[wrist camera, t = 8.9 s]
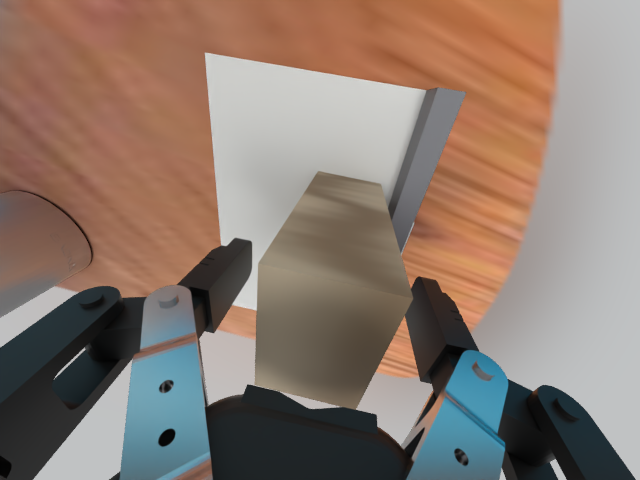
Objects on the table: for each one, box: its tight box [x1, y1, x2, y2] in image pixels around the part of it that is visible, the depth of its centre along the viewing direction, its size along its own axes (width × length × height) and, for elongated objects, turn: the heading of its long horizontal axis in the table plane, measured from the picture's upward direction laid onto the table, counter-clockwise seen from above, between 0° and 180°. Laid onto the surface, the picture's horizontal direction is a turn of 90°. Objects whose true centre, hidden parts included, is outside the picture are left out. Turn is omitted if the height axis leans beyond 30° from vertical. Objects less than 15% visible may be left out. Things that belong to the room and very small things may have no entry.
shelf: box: [205, 53, 466, 310], centre depth 17 cm, size 13×19×4 cm
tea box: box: [255, 171, 413, 410], centre depth 12 cm, size 4×6×10 cm
